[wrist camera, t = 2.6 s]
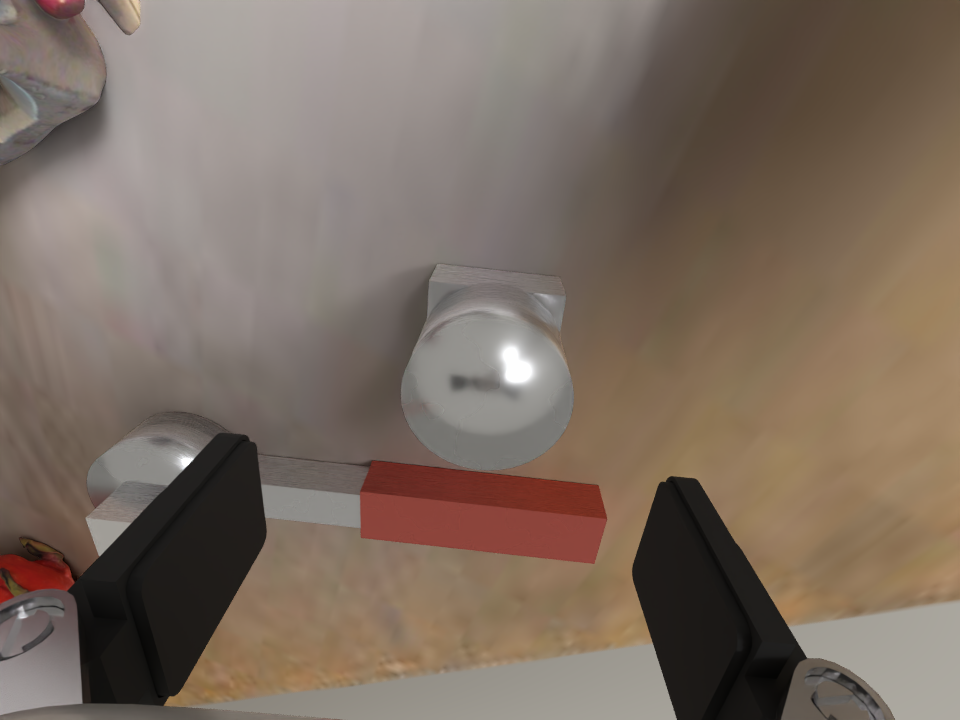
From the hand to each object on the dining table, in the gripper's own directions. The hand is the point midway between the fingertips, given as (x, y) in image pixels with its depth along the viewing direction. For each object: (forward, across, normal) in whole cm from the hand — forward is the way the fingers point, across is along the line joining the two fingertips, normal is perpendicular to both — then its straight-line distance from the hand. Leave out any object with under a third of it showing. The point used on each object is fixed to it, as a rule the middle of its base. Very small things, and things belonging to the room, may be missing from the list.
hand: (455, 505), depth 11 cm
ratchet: (+10, +5, +8) cm, 14 cm away
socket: (+10, -1, -1) cm, 10 cm away
